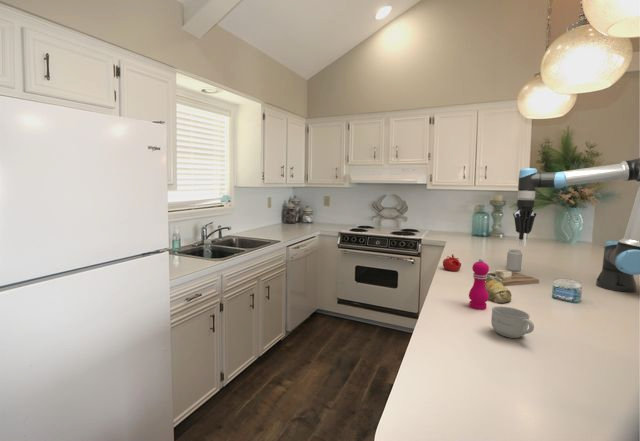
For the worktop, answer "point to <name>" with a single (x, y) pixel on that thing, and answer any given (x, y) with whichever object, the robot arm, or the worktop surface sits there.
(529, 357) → the worktop surface
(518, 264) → the can
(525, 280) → the board
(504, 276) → the birch block
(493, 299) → the pastry
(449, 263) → the pomegranate
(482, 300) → the pepper mill
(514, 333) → the teacup
